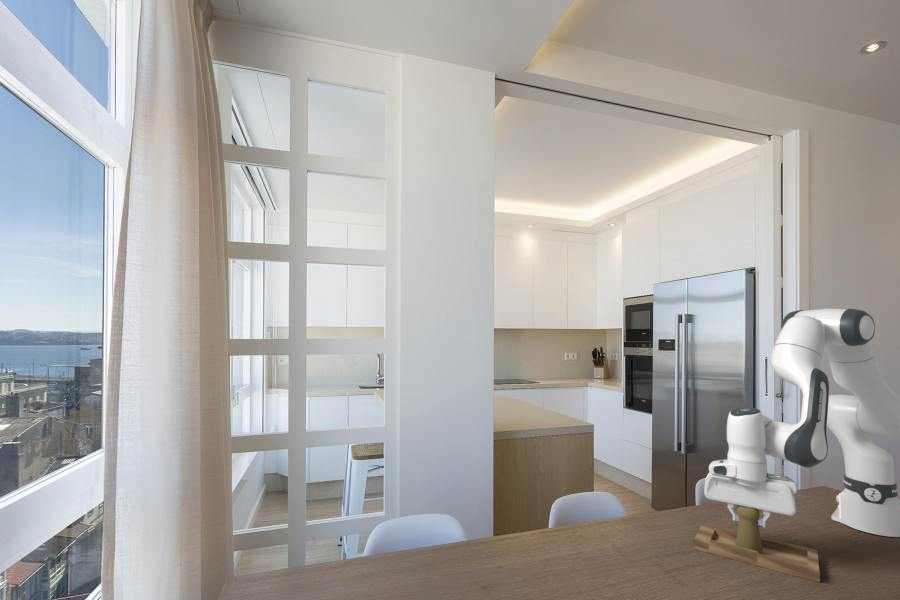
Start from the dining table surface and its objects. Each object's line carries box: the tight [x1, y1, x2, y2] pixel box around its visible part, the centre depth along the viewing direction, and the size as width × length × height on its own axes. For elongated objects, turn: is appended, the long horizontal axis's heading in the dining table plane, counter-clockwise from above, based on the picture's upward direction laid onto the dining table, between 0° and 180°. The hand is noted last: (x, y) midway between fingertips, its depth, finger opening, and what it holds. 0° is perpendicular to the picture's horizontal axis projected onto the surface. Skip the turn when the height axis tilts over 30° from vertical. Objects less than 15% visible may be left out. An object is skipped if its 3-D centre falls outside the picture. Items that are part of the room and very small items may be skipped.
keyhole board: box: [693, 522, 821, 583], centre depth 118 cm, size 14×26×2 cm, turn 53°
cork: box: [735, 505, 763, 554], centre depth 118 cm, size 6×6×11 cm
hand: (748, 523), depth 119 cm, fingers closed on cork, 4 cm apart
